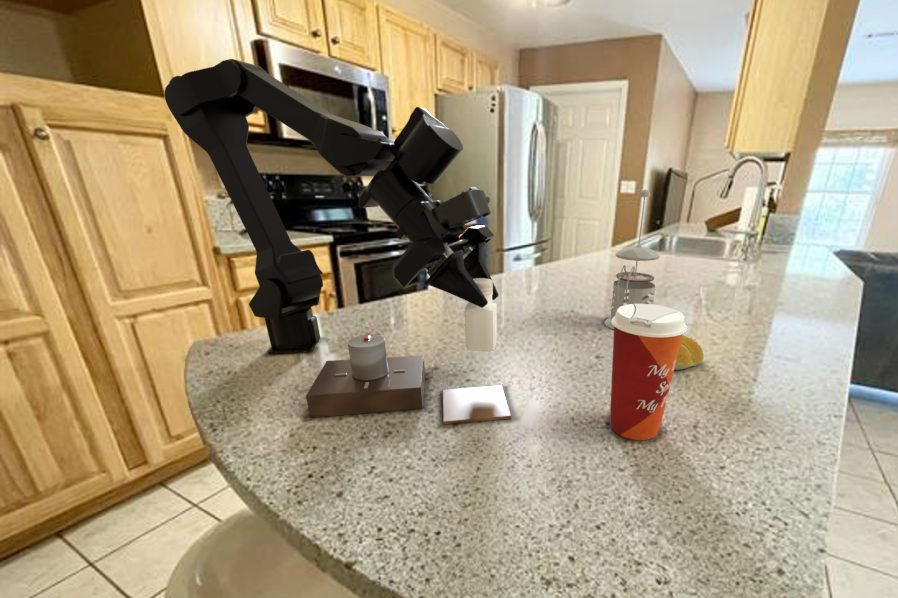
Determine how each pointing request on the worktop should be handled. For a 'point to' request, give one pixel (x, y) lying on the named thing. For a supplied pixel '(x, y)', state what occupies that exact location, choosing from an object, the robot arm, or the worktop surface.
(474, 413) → the coaster
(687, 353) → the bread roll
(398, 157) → the robot arm
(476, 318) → the pepper shaker
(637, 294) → the french press
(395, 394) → the panel
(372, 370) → the knob
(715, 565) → the worktop surface
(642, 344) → the paper cup
